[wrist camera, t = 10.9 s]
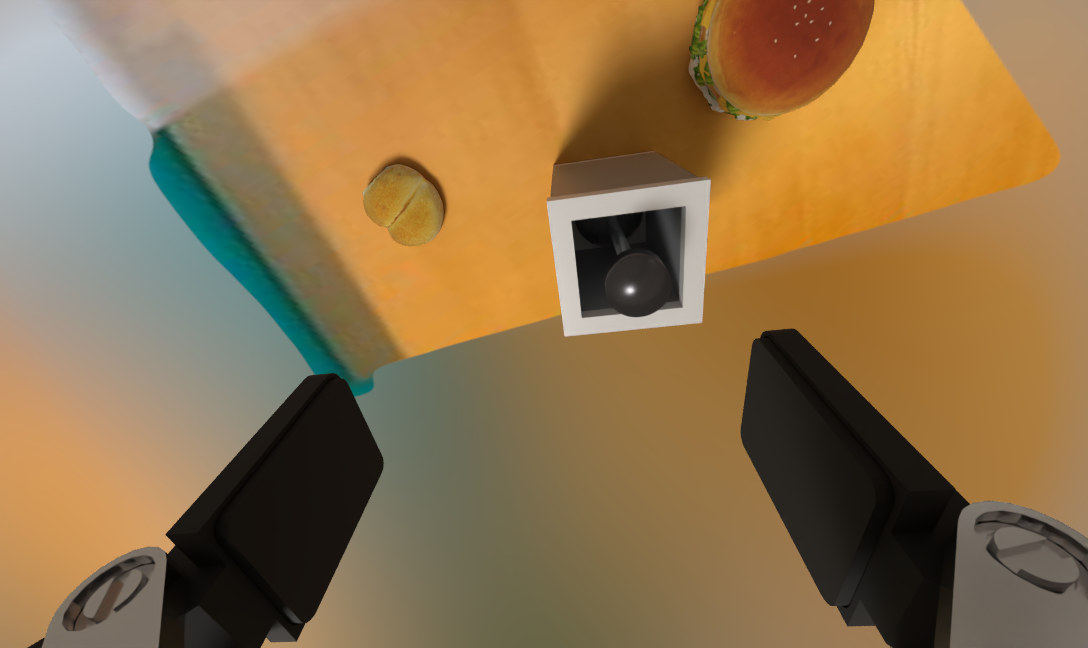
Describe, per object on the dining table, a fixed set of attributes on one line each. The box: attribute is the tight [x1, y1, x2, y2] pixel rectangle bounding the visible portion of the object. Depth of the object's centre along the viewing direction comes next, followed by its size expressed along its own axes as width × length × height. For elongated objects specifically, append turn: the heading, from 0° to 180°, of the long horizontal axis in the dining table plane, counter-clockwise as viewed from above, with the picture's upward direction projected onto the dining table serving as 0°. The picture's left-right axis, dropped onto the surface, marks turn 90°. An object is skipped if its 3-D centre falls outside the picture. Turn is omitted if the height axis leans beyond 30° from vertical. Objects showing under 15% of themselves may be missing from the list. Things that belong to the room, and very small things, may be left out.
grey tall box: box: [547, 151, 711, 336], centre depth 39 cm, size 11×11×18 cm
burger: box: [688, 0, 874, 121], centre depth 34 cm, size 13×14×10 cm
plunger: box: [575, 212, 672, 317], centre depth 36 cm, size 8×8×21 cm
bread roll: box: [363, 164, 444, 246], centre depth 46 cm, size 8×9×4 cm
